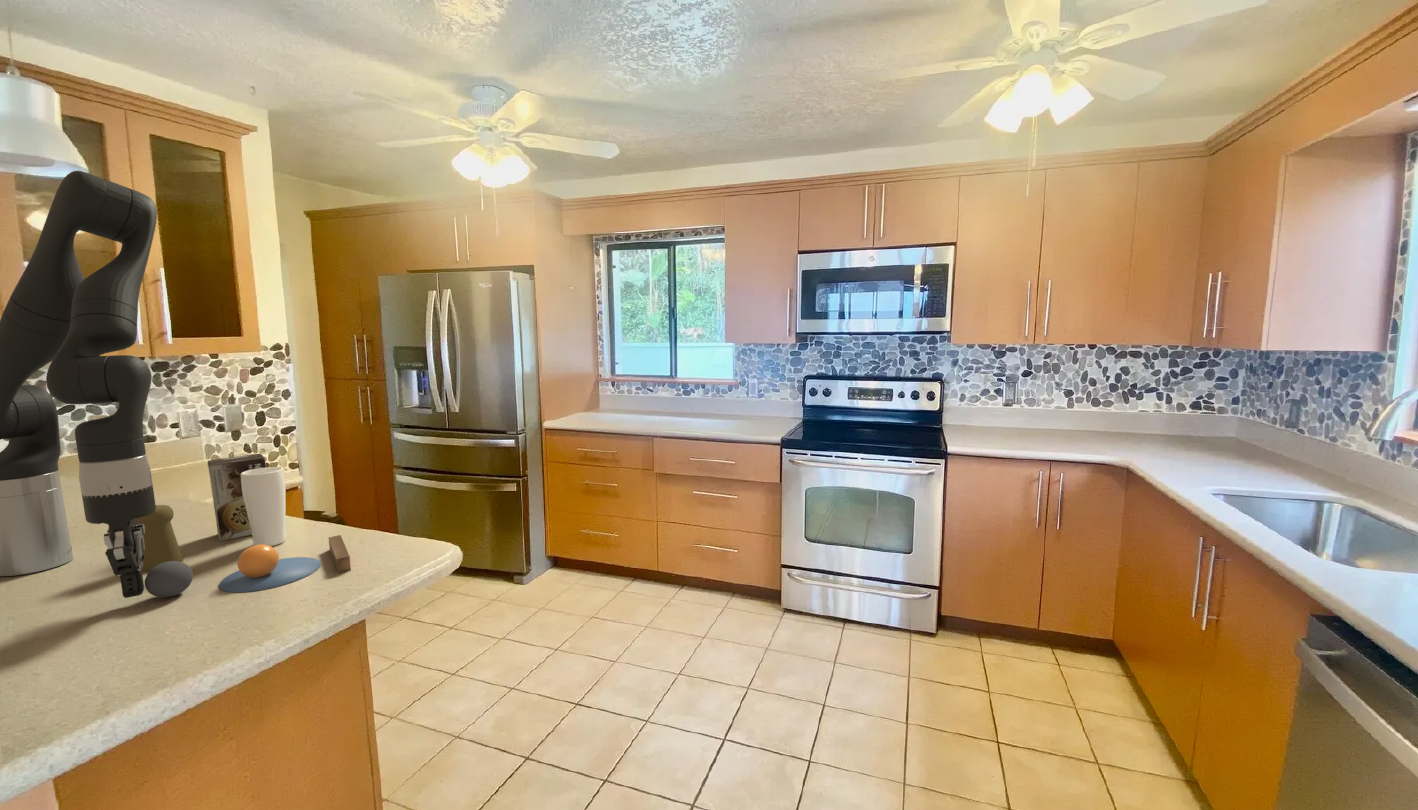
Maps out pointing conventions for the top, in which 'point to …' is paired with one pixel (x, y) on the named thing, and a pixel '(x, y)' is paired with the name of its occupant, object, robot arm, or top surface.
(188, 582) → the gray ball
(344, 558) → the brown bar
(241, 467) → the coffee box
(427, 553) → the top surface
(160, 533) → the cork
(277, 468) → the drinking glass
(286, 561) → the blue flat round disc
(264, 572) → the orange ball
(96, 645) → the top surface
